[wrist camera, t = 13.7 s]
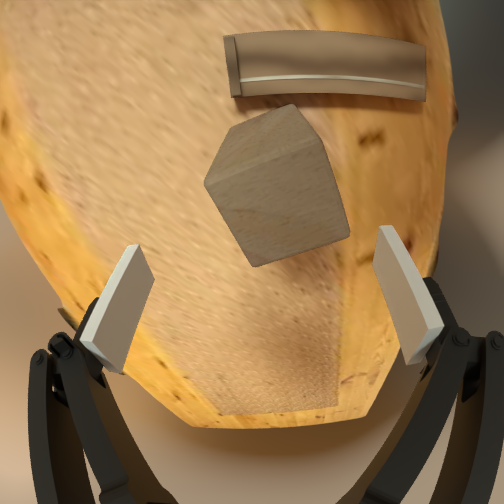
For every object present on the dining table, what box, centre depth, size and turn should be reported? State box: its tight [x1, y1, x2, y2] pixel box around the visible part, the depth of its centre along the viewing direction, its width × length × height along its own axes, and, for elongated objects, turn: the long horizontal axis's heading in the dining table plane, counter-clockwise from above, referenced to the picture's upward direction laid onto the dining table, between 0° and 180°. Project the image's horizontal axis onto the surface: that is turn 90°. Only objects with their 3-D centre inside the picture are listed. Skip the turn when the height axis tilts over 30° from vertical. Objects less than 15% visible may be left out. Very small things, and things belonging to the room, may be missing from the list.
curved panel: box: [223, 30, 426, 102], centre depth 29 cm, size 9×28×4 cm, turn 96°
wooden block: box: [204, 104, 350, 267], centre depth 31 cm, size 10×10×20 cm
